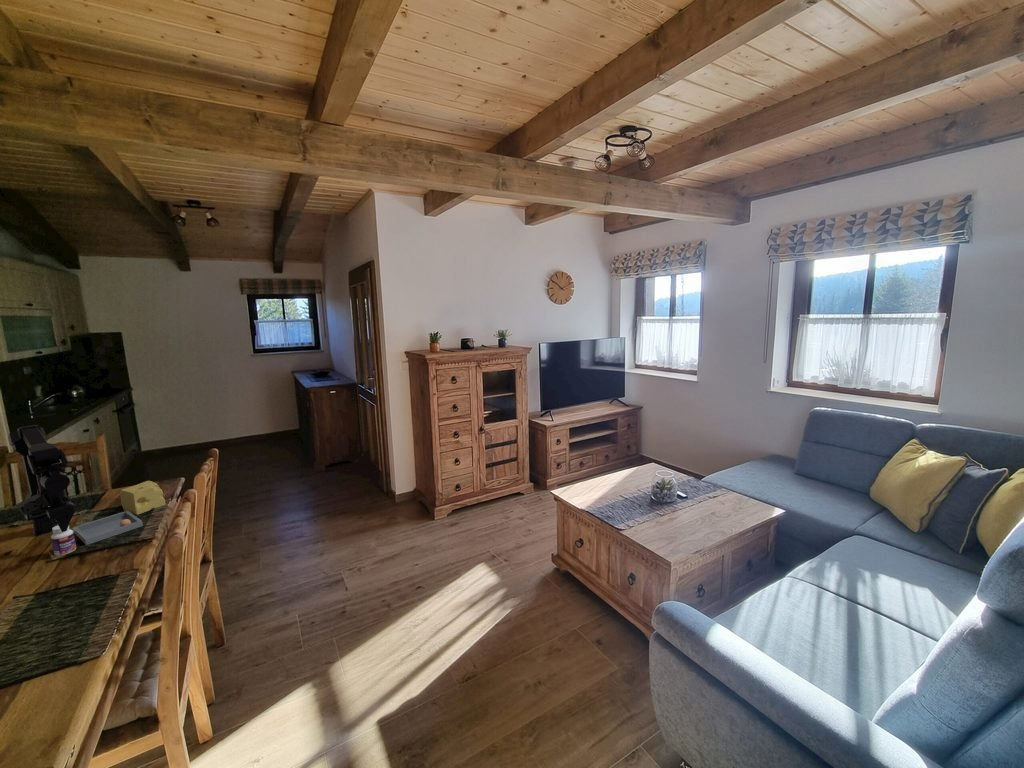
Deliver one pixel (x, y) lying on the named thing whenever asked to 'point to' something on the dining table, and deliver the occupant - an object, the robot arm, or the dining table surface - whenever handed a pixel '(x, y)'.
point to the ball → (125, 522)
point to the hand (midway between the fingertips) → (60, 527)
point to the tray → (106, 527)
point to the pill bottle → (62, 541)
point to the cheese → (142, 497)
